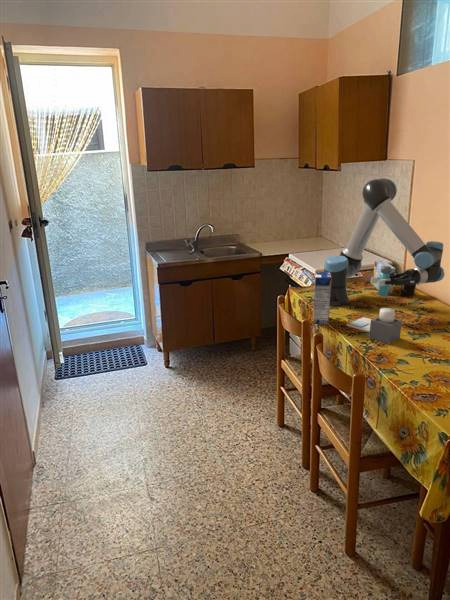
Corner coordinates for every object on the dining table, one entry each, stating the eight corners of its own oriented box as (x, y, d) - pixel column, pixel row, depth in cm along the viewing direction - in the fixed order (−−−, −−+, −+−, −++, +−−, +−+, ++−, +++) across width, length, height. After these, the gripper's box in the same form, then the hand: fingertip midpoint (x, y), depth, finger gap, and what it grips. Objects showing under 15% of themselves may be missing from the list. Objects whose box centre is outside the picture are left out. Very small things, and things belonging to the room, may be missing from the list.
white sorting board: (346, 325, 202) (346, 323, 202) (363, 318, 211) (363, 316, 211) (374, 334, 192) (375, 332, 192) (391, 326, 201) (391, 324, 201)
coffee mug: (416, 297, 240) (419, 279, 237) (399, 297, 242) (402, 279, 239) (412, 291, 251) (414, 274, 248) (396, 290, 253) (398, 273, 250)
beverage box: (312, 324, 204) (315, 277, 197) (313, 316, 214) (315, 271, 208) (328, 325, 203) (331, 278, 196) (327, 316, 213) (330, 271, 206)
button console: (369, 337, 188) (370, 320, 186) (380, 332, 194) (381, 314, 192) (389, 344, 182) (391, 325, 180) (399, 338, 188) (402, 320, 185)
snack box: (393, 295, 246) (396, 268, 241) (383, 295, 246) (385, 268, 241) (381, 284, 266) (383, 259, 261) (371, 284, 266) (373, 259, 261)
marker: (376, 295, 207) (379, 266, 202) (380, 293, 209) (384, 265, 205) (384, 297, 204) (388, 268, 200) (389, 295, 206) (392, 267, 202)
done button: (375, 321, 186) (377, 310, 184) (383, 318, 190) (384, 307, 188) (389, 325, 182) (390, 313, 180) (396, 321, 186) (398, 310, 184)
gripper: (427, 289, 205) (387, 295, 196) (400, 279, 220) (361, 284, 211) (430, 273, 202) (389, 278, 194) (402, 264, 217) (363, 269, 209)
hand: (375, 281), depth 202 cm, fingers closed on marker, 4 cm apart
